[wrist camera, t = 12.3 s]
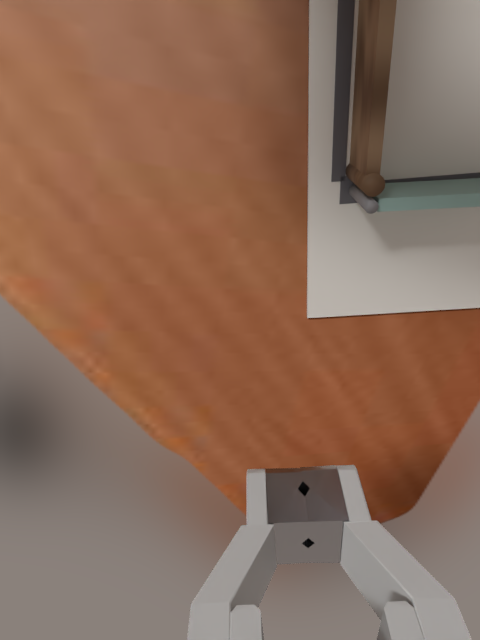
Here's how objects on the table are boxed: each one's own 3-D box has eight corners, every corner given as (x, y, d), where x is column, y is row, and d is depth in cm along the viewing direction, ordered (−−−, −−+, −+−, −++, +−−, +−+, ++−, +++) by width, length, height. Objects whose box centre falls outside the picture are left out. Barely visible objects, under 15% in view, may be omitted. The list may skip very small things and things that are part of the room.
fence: (356, -29, 27) (381, -55, 22) (379, -31, 27) (410, -58, 22) (345, 180, 34) (362, 197, 29) (363, 179, 34) (384, 195, 29)
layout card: (309, -26, 28) (310, -28, 27) (606, -59, 27) (612, -61, 26) (306, 316, 42) (307, 318, 42) (500, 304, 41) (502, 306, 40)
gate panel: (348, 196, 35) (364, 214, 30) (349, 184, 34) (365, 200, 29) (500, 188, 34) (541, 204, 29) (503, 176, 34) (546, 191, 29)
